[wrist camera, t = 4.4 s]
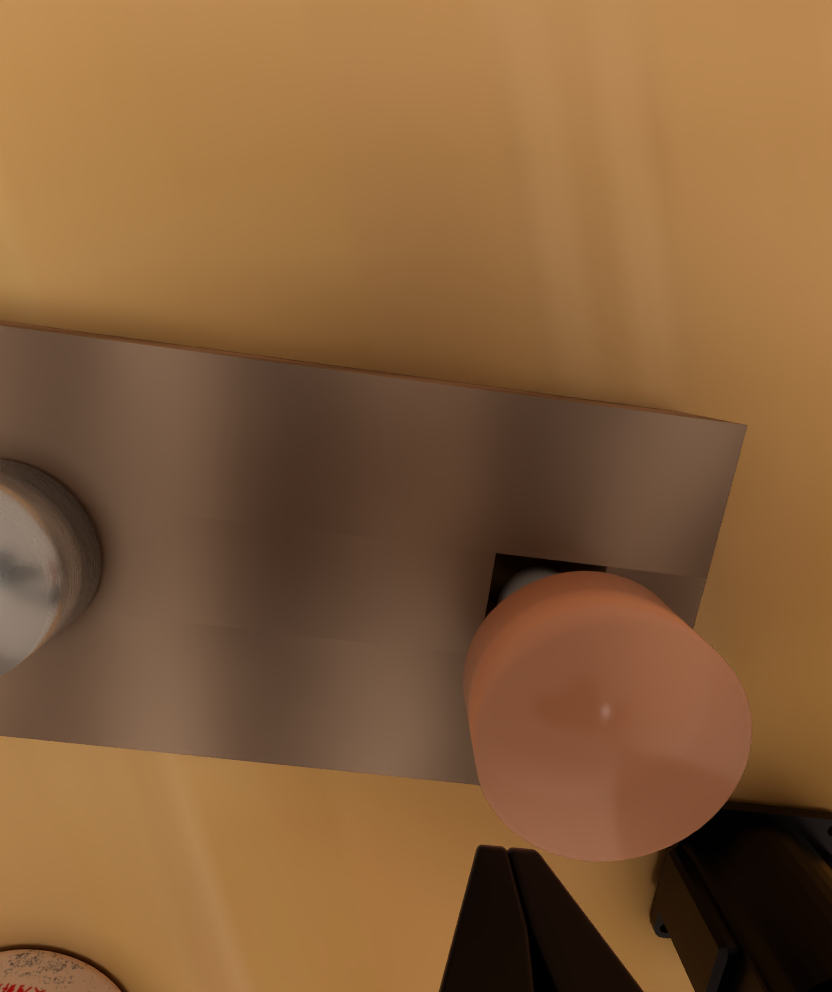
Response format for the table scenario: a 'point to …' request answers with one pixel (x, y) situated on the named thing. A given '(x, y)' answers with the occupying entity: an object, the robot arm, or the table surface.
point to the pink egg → (600, 716)
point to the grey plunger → (41, 561)
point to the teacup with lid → (49, 973)
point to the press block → (322, 542)
